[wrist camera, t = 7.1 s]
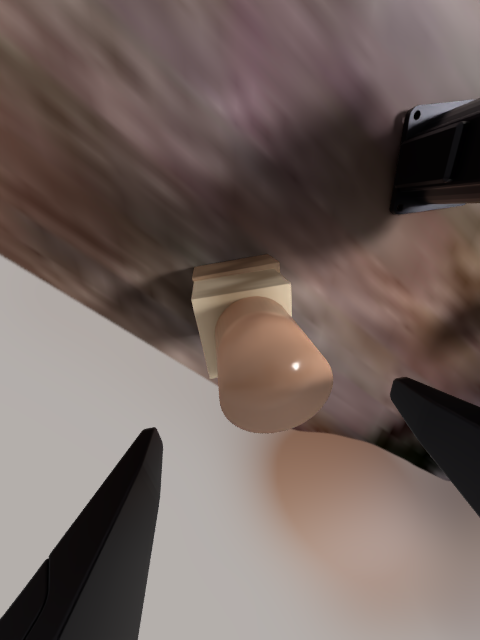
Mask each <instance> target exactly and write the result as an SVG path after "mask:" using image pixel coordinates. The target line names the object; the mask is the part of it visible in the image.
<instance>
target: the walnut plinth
mask: <svg viewBox="0 0 480 640" xmlns="http://www.w3.org/2000/svg"><path fill="white" fill-rule="evenodd" d="M268 269H275V270H276V271H277V272H278V273H280V263H279V262H278V261H277V260H276V259H274V258H273V257H271V256H270V255H268V254H265V255H259V256H254V257H248V258H242V259H237V260H231V261H225V262H220V263H214V264H209V265H203V266H197V267H194V271H193V276H192V279H193V283H194V281H199V280H206V279H212V278H218V277H224V276H231V275H237V274H243V273H249V272H256V271H262V270H268Z"/></svg>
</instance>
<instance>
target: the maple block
mask: <svg viewBox="0 0 480 640" xmlns="http://www.w3.org/2000/svg"><path fill="white" fill-rule="evenodd" d="M252 296H261V297H267V298H270V299H272V300H275V301H276V302H278V303H279V304H280V305H282V306H283V308H284V309H285V310H286V311H287V312H288V314H289V315H290V316H291V317H292V306H291V283H290V282H289V281H288V280H287V279H285V278H284V277H283V276H282V275H281V274H280V273H278V272H277V271H276V270H275V269H268V270H262V271H256V272H249V273H243V274H237V275H231V276H224V277H218V278H212V279H206V280H199V281H194V285H193V291H192V298H191V301H192V305H193V310H194V314H195V318H196V322H197V326H198V331H199V335H200V339H201V343H202V347H203V351H204V356H205V360H206V364H207V368H208V372H209V376H210V379H212V378H217V377H218V372H217V359H216V345H215V327H216V324H217V321H218V319H219V317H220V315H221V314H222V313H223V311H224V310H225V309H226V308H227V307H228V306H230V305H231V304H233V303H234V302H236V301H238V300H240V299H243V298H246V297H252Z"/></svg>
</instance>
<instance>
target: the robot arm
mask: <svg viewBox="0 0 480 640" xmlns="http://www.w3.org/2000/svg"><path fill="white" fill-rule="evenodd" d="M414 113H415V114H416V118H415V120H414V118H413V115H414ZM466 203H480V98H478V99H474V100H464V101H455V102H445V103H436V104H426V105H418V106H416V107H414V108H412V109H410V110H409V111H408V113H407V114H406V118H405V123H404V129H403V135H402V141H401V146H400V152H399V158H398V164H397V170H396V176H395V182H394V188H393V194H392V200H391V206H390V212H391V213H392V214H406V213H413V212H420V211H427V210H434V209H441V208H448V207H455V206H462V205H465V204H466ZM398 205H399V208H398V210H397V206H398ZM390 397H391V400H392V402H393V403H394V405H395V406H396V408H397V409H398V411H399V412H400V414H401V415H402V417H403V418H404V420H405V421H406V423H407V424H408V426H409V427H410V429H411V430H412V432H413V433H414V435H415V436H416V437H417V439H418V440H419V442H420V443H421V444H422V445H423V447H424V448H425V449H426V450H427V452H428V453H429V454H430V456H431V457H432V458H433V459H434V461H435V462H436V463H437V464H438V466H439V467H440V468H441V469H442V471H443V472H444V473H445V474H446V476H447V477H448V478H449V479H450V481H451V482H452V483H453V484H454V486H455V487H456V488H457V489H458V491H459V492H460V493H461V494H462V496H463V497H464V498H465V499H466V501H467V502H468V503H469V504H470V506H471V507H472V508H473V509H474V511H475V512H476V513H477V515H478V516H479V517H480V407H478V406H476V405H473V404H471V403H469V402H466V401H464V400H461V399H459V398H456V397H454V396H452V395H449V394H447V393H444V392H442V391H439V390H437V389H435V388H432V387H430V386H427V385H425V384H423V383H420V382H418V381H415V380H413V379H410V378H408V377H401V378H396V379H395V380H394V381H393V384H392V388H391V392H390ZM162 454H163V444H162V440H161V438H160V436H159V433H158V431H157V429H156V428H155V427H153V428H148V429H144V430H143V431H142V432H141V433H140V434H139V436H138V437H137V438H136V440H135V441H134V442H133V444H132V445H131V446H130V448H129V449H128V451H127V452H126V453H125V455H124V456H123V457H122V458H121V460H120V461H119V462H118V464H117V465H116V467H115V468H114V469H113V471H112V472H111V473H110V475H109V476H108V477H107V479H106V480H105V481H104V483H103V484H102V485H101V487H100V488H99V489H98V491H97V492H96V493H95V495H94V496H93V497H92V499H91V500H90V501H89V503H88V504H87V505H86V507H85V508H84V509H83V511H82V512H81V513H80V515H79V516H78V517H77V519H76V520H75V522H74V523H73V524H72V525H71V527H70V528H69V529H68V531H67V532H66V533H65V535H64V536H63V537H62V539H61V540H60V541H59V543H58V544H57V545H56V547H55V548H54V549H53V551H52V552H51V553H50V555H49V559H46V560H45V561H44V563H43V564H42V565H41V567H40V568H39V569H38V571H37V572H36V573H35V575H34V576H33V577H32V579H31V580H30V581H29V583H28V584H27V585H26V587H25V588H24V589H23V590H22V592H21V593H20V594H19V596H18V597H17V598H16V600H15V601H14V602H13V603H12V605H11V606H10V607H9V609H8V610H7V611H6V613H5V614H4V615H3V616H2V617H1V619H0V640H138V634H139V627H140V621H141V614H142V609H143V603H144V596H145V589H146V584H147V577H148V570H149V565H150V558H151V551H152V545H153V539H154V532H155V526H156V520H157V514H158V507H159V500H160V489H161V473H162Z"/></svg>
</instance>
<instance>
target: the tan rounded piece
mask: <svg viewBox="0 0 480 640" xmlns="http://www.w3.org/2000/svg"><path fill="white" fill-rule="evenodd" d="M215 345H216V359H217V372H218V386H219V399H220V406H221V409H222V411H223V413H224V415H225V416H226V418H227V419H228V420H229V421H230V422H231V423H232V424H234V425H235V426H237V427H239V428H241V429H243V430H246V431H249V432H254V433H275V432H281V431H285V430H288V429H291V428H294V427H296V426H298V425H300V424H302V423H304V422H306V421H307V420H309V419H310V418H311V417H313V416H314V415H315V414H316V413H317V412H318V411H319V410H320V409H321V408H322V407H323V405H324V404H325V403H326V401H327V399H328V397H329V395H330V393H331V390H332V385H333V375H332V370H331V367H330V365H329V364H328V362H327V360H326V359H325V358H324V357H323V356H322V354H321V353H320V352H319V351H318V349H317V348H316V347H315V346H314V344H313V343H312V342H311V341H310V339H309V338H308V337H307V336H306V335H305V333H304V332H303V331H302V330H301V328H300V327H299V326H298V325H297V323H296V322H295V321H294V320H293V319H292V317H291V316H290V315H289V314H288V312H287V311H286V310H285V309H284V308H283V306H282V305H280V304H279V303H278V302H276V301H275V300H272V299H270V298H267V297H261V296H252V297H246V298H243V299H240V300H238V301H236V302H234V303H233V304H231V305H230V306H228V307H227V308H226V309H225V310H224V311H223V313H222V314H221V315H220V317H219V319H218V321H217V324H216V327H215Z"/></svg>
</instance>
